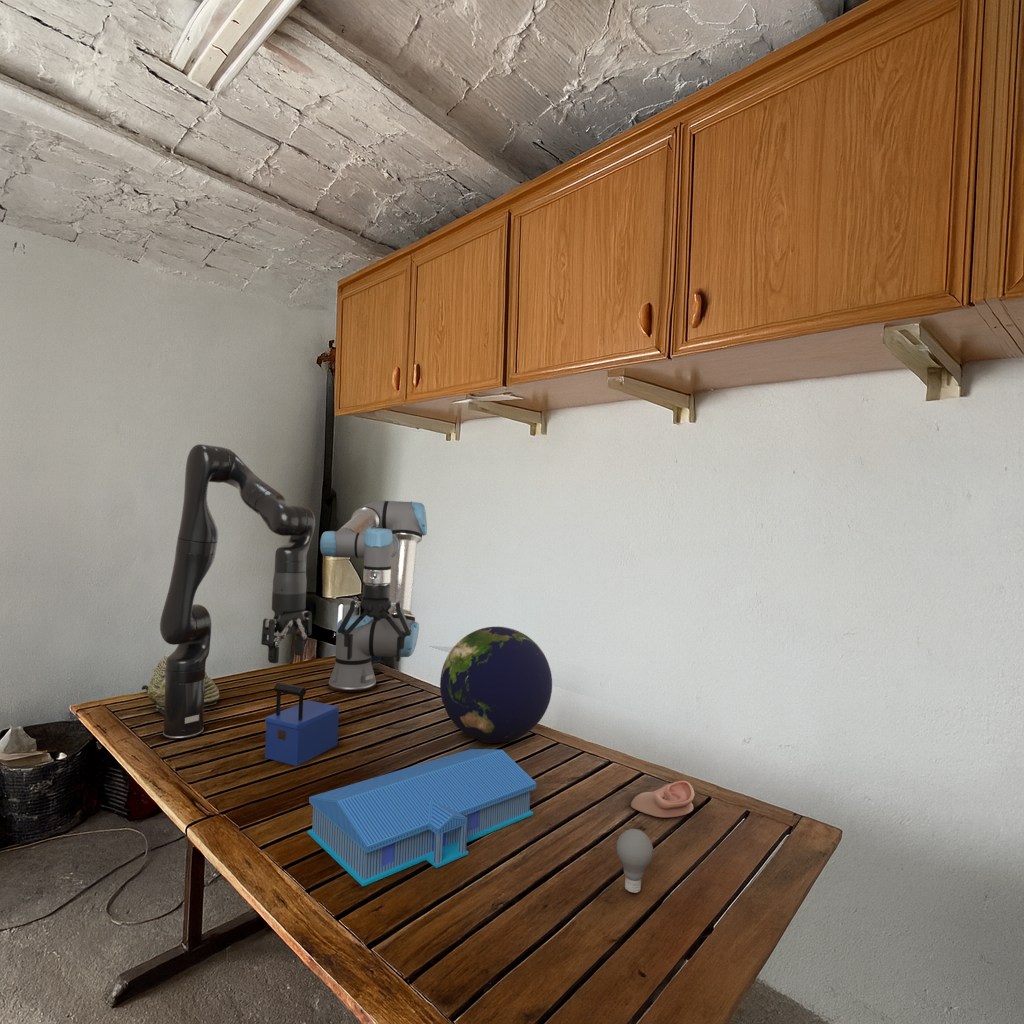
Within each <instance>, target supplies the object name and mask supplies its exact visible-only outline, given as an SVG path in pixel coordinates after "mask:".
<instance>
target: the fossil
mask: <svg viewBox="0 0 1024 1024" xmlns="http://www.w3.org/2000/svg"><path fill="white" fill-rule="evenodd" d="M170 655H171V654H165V655H164V656H163V657H162V658H161V659H160V660H159V662H158V663H157V666H156V667H155V669H154V670H153V672H152V675H151V677H150V680H149V684H148V687H149V688H148V692H147V697H148V699H149V700H150V701H152V703H153V704H154V706H155V711H158V709H157V708H162V709H163V711H164V705H165V674H166V660H167V658H168V657H169V656H170ZM220 698H221V696H220V690H219V688H218V686H217V685H216V683H215V682H214V681H213V679H212V678H211V677H209V675H208V674H207V672H206V671H205V693H204V707H207V706H213V705H215V704H217V703H218V701H219V699H220Z"/></svg>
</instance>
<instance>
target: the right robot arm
mask: <svg viewBox="0 0 1024 1024" xmlns="http://www.w3.org/2000/svg"><path fill="white" fill-rule="evenodd" d="M426 535H428V523H427V512H426V506H425V505H424V503H422V502H418V501H401V500H400V501H398V500H377V501H373V502H369V503H366V504H364V505H361V506H360V507H358V508H357V509H356V510H355V511H354V512H353V513H352V514H351V517H350V519H349V520H348V521H347V522H345V524H343V526H341V527H340V528H339V529H338V530H335V531H334V530H328V531H324V532H323V533H322V534H321V536H320V543H319V545H320V546H319V549H320V553H321V554H322V556H324V557H330V558H345V559H346V558H348V559H349V558H350V559H363V574H362V575H363V578H362V582H363V583H364V584H363V585H362V599H361V601H360V600H357V599H353V600H351V601H350V604H349V609H348V611H347V613H346V615H345V616H344V618H341V619H340V620H339V621H338V622H337V625H336V633H335V662H334V666H333V668H332V672H331V675H330V677H329V679H328V688H329V689H330V690H332V691H334V692H338V693H345V694H346V693H351V694H353V693H364V692H368V691H370V690H373V689H374V688H376V686H377V678H376V675H375V674H379V673H381V670H382V669H380V668H379V667H373V665H375V664H382V665H386V663H385V661H383V660H379V659H378V660H373V661H372V657H386V658H387V657H388V658H395V659H396V660H395V661H396V662H397V663H398V662H400V661H401V658H409V657H411V656H412V655H413V654H414V652H415V649H416V647H417V643H418V639H419V631H420V623H419V622H417V621H416V616H415V615H414V614H413V612H412V605H413V595H414V594H413V593H414V583H415V571H416V562H417V551H418V550H417V548H418V544H420V543H421V542H422V540H423V536H426ZM359 607H361V609H362V610H363V611H362V613H361V614H360V615H358V614H357V615H353V614H354V612H355V611H356V609H358V608H359ZM374 618H378V619H379V620H374Z"/></svg>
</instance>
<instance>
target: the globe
mask: <svg viewBox="0 0 1024 1024" xmlns="http://www.w3.org/2000/svg"><path fill="white" fill-rule="evenodd" d="M551 670H552V669H551V667H550V664H549V660H548V659H547V656H546V655H545V652H544V651H543V650H542V648H541V647H540V646H539V645H538V644H537V643H536V642H535V641H534V640H533V639H532V638H531V637H530V636H528V635H526V634H525V633H523V632H522V631H519V630H517V629H514V628H510V627H508V626H507V627H506V626H500V625H499V626H487V627H482V628H479V629H477V630H474V631H472V632H470V633H469V634H466V635H465V636H464V637H462V638H461V639H460V640H459V641H458V642H457V643H456V644H455V645H454V646H452V648H451V650H450V651H449V653H448V654H447V656H446V658H445V661H444V662H443V666H442V669H441V671H440V672H441V673H440V680H439V691H440V698H441V701H442V705H443V707H444V710H445V712H446V714H447V715H448V717H449V719H450V720H451V722H452V723H453V724H454V725H455V726H456V728H458V729H459V730H460V731H461V732H463V733H464V734H465V735H467V736H469V737H470V738H472V739H475V740H477V741H480V742H484V743H488V744H489V743H490V744H499V743H500V744H501V743H506V742H507V743H508V742H511V741H515V740H517V739H519V738H521V737H523V736H525V735H527V734H528V733H529V732H531V730H533V729H534V728H535V727H536V726H538V724H539V723H540V721H541V720H542V718H543V717H544V716H545V713H546V712H547V710H548V708H549V705H550V702H551V699H552V698H551V697H552V693H553V677H552V671H551Z"/></svg>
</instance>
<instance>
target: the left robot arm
mask: <svg viewBox="0 0 1024 1024" xmlns="http://www.w3.org/2000/svg"><path fill="white" fill-rule="evenodd" d="M209 483H217V484H220V483H224V484H227V485H230V486H231V487H234V488H236V489H237V491H238V493H239V497H240V499H241V501H242V502H243V503H244V505H246V506H247V507H248V508H249V509H250V510H252V512H254V513H256V514H257V515H258V516H260V518H261V519H262V521H263V522H264V524H265V525H266V527H267V528H268V529H269V530H270V531H271V532H272V533H274V534H275V535H277V536H281V537H289V539H288V541H287V543H285V544H283V545H281V546H278V547H277V548H276V549H275V554H274V569H273V570H274V572H273V578H272V590H271V591H272V593H271V594H272V595H271V610H272V611H273V613H274V615H273V618H266V617H265V618H264V619H263V621H262V629H261V641H260V644H261V645H263V646H266V647H268V648H267V649H268V650H267V652H268V653H267V660H268V663H270V664H278V663H279V659H280V658H279V657H280V656H279V655H280V647H279V646H280V644H281V642H282V640H284V639H285V638H286V636H287V635H290V634H293V636H294V638H295V639H294V649H293V651H294V655H295V656H300V657H301V656H303V655H304V653H305V643H306V639H307V637H310V636H312V632H313V631H312V628H313V627H312V626H313V625H312V623H313V622H312V621H313V620H312V619H313V616H312V615H313V613H312V611H309V610H306V606H307V581H308V580H307V555H308V551H309V548H310V545H311V542H312V539H313V536H314V533H315V528H316V517H315V514H314V512H313V511H312V509H311V508H310V507H308V506H306V505H287V501H286V498H285V497H284V496H283V494H281V493H280V492H279V491H277V490H276V489H275V488H273V487H271V485H269V484H267V483H266V482H265V481H263V480H262V479H261V478H259V476H257V475H256V474H255V473H254V472H253V471H252V470H251V469H250V468H249V466H247V464H246V463H245V462H243V460H242V459H241V458H240V457H239V455H237V454H236V453H235V452H234V451H232V450H231V449H229V448H227V447H222V446H217V445H211V444H210V445H209V444H202V443H201V444H195V445H194V446H192V447H191V449H190V450H189V452H188V454H187V458H186V464H185V474H184V492H183V503H182V512H181V518H180V523H179V530H178V535H177V540H176V546H175V553H174V560H173V561H174V562H173V567H172V572H171V578H170V582H169V587H168V591H167V595H166V598H165V601H164V605H163V608H162V612H161V616H160V621H159V631H160V635H161V638H162V639H163V641H164V642H165V643H167V644H168V645H172V646H176V645H177V646H176V647H175V650H173V652H172V653H170V654H169V655H170V656H169V657H168V658H167V660H166V674H165V705H164V710H163V709H162V708H157V709H158V710H157V711H158V712H159V714H161V715H162V716H163V731H162V737H164V738H166V739H169V740H185V739H190V738H191V739H192V738H194V737H197V736H199V735H202V734H203V732H204V730H205V729H204V722H205V721H204V718H205V706H204V693H205V672H206V664H207V663H206V662H207V659H208V657H209V654H210V649H211V639H212V617H211V614H210V612H209V610H208V609H207V608H206V607H205V606H203V605H201V604H196V603H195V604H194V601H195V596H196V593H197V590H198V588H199V587H200V585H201V583H202V582H203V580H204V578H205V577H206V575H207V573H208V572H209V570H210V569H211V567H212V565H213V563H214V561H215V558H216V553H217V548H218V541H219V531H218V528H217V525H216V522H215V520H214V519H215V518H214V517H213V515H212V513H211V510H210V507H209V504H208V488H209ZM148 688H149V685H146V684H144V685H142V687H141V690H143V691H144V690H145V691H146V692H147V693H148Z"/></svg>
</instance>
